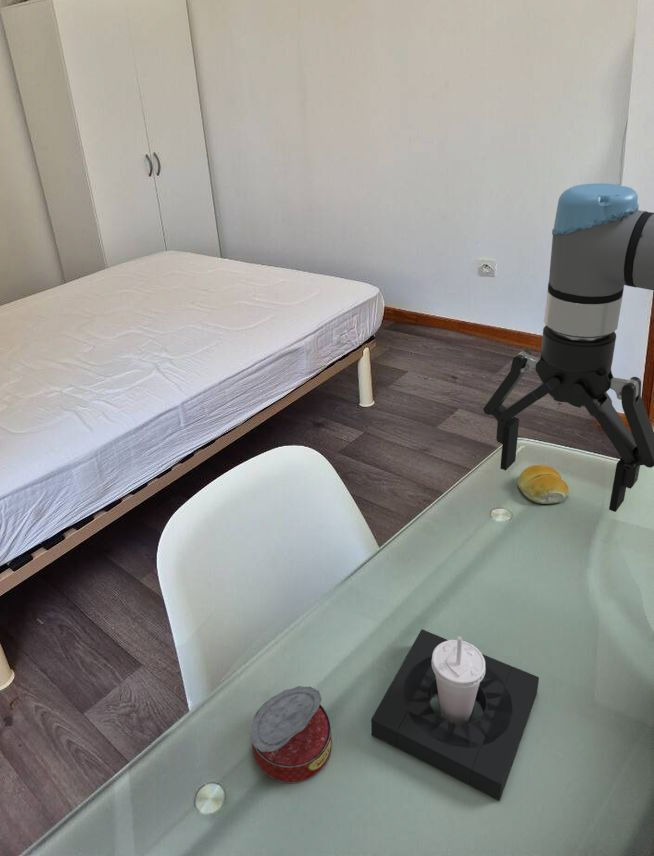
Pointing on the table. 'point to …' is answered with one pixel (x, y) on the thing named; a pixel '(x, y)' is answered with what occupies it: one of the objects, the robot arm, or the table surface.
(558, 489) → the bread roll
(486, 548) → the table surface
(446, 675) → the smoothie
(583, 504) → the table surface
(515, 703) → the socket pad
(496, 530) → the table surface
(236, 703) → the table surface
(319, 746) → the canned food
